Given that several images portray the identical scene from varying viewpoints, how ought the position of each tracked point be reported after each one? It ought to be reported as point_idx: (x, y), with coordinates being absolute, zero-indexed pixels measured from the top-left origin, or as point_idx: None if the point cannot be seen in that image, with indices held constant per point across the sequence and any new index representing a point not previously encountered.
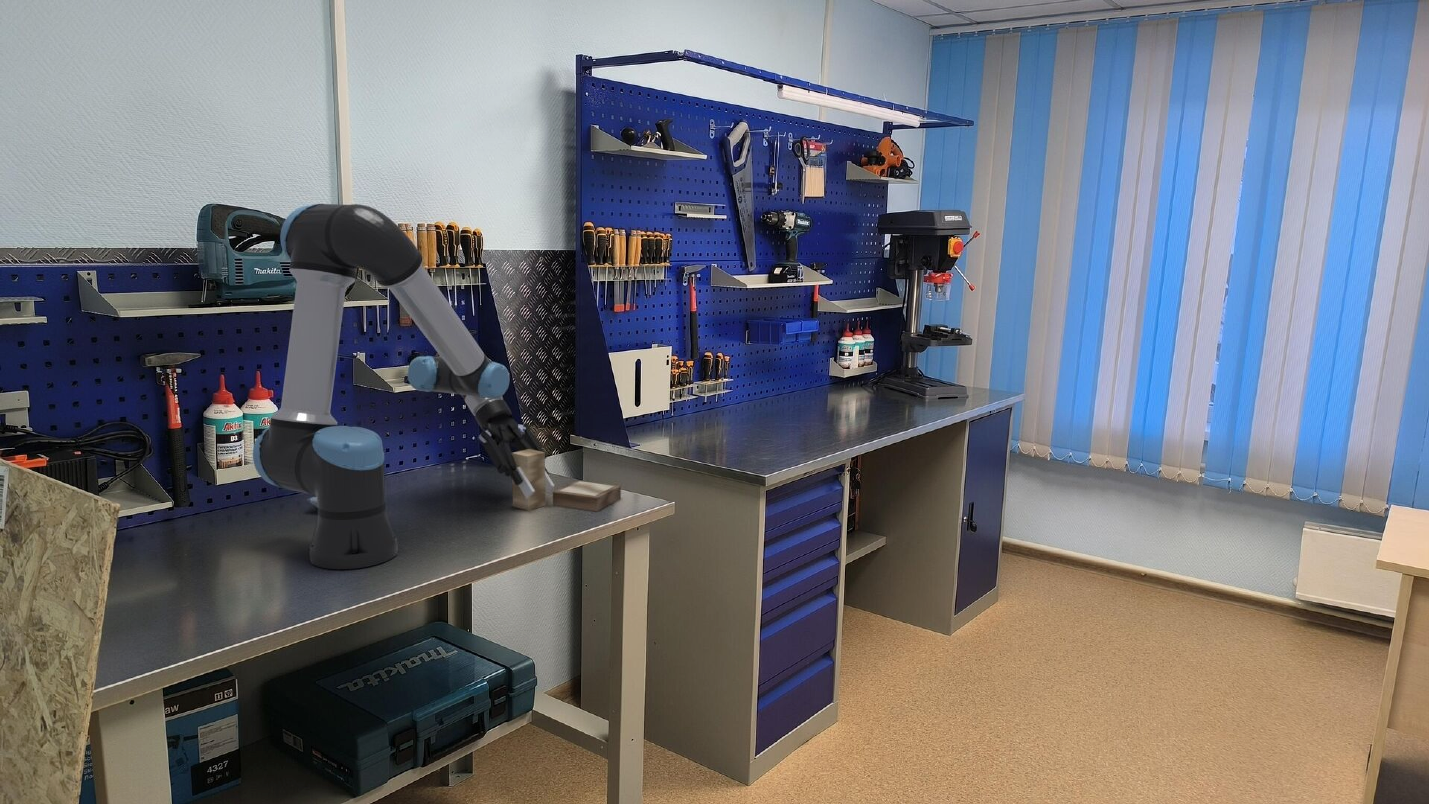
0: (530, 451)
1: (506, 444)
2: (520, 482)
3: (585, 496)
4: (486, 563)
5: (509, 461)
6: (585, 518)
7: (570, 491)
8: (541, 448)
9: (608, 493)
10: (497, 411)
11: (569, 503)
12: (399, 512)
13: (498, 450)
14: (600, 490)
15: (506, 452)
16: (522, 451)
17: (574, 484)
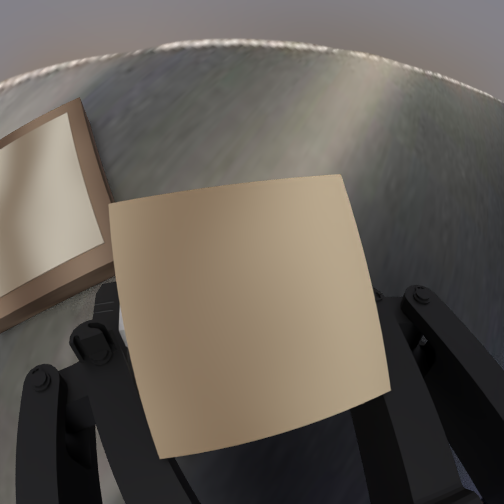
0: (209, 346)
1: (435, 477)
2: None
3: (85, 128)
4: (428, 72)
5: (397, 326)
6: (156, 95)
7: (77, 206)
8: (21, 447)
9: (12, 135)
10: None
11: (111, 195)
12: None
13: (488, 388)
14: (10, 155)
15: (427, 398)
16: (283, 398)
17: (8, 286)
